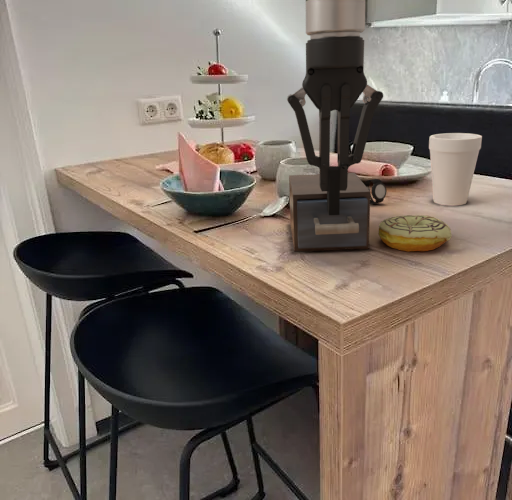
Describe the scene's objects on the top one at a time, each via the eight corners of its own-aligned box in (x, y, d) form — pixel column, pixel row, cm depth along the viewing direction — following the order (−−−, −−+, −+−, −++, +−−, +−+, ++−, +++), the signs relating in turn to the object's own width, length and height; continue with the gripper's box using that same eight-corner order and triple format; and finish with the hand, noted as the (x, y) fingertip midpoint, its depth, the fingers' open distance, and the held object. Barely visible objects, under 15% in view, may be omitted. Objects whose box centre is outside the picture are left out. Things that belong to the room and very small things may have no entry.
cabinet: (368, 248, 78) (370, 191, 75) (294, 251, 78) (292, 194, 75) (353, 221, 92) (354, 172, 88) (290, 224, 92) (289, 175, 89)
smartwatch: (369, 207, 100) (370, 182, 98) (360, 201, 105) (360, 177, 103) (389, 205, 101) (389, 181, 99) (379, 199, 105) (380, 176, 104)
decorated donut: (464, 247, 76) (466, 223, 75) (406, 259, 73) (407, 235, 72) (419, 229, 86) (421, 207, 84) (366, 239, 82) (366, 217, 81)
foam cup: (470, 209, 95) (477, 140, 91) (421, 205, 100) (425, 139, 95) (477, 197, 103) (484, 133, 98) (431, 194, 107) (435, 132, 103)
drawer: (373, 259, 71) (375, 209, 69) (300, 262, 71) (299, 213, 69) (352, 220, 89) (353, 180, 87) (294, 223, 90) (293, 182, 87)
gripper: (379, 36, 68) (373, 204, 76) (283, 40, 68) (287, 207, 76) (392, 32, 61) (383, 218, 69) (285, 37, 61) (289, 221, 69)
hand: (333, 212), depth 73 cm, fingers closed
